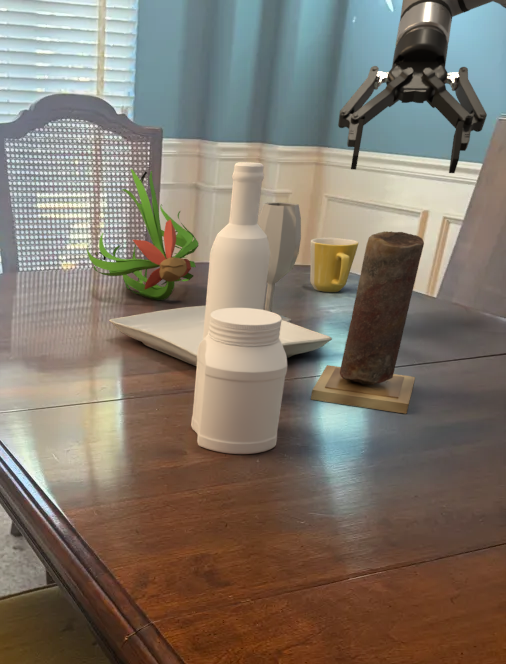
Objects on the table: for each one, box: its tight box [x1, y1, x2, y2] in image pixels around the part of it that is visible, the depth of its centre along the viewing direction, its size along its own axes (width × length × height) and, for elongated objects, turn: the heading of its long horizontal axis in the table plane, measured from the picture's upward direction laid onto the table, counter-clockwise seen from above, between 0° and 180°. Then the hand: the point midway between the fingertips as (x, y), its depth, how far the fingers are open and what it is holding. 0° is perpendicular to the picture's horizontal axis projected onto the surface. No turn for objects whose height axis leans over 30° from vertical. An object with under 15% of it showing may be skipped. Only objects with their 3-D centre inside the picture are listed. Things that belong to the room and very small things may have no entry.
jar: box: [190, 308, 288, 455], centre depth 93 cm, size 12×10×15 cm
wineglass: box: [257, 201, 302, 323], centre depth 142 cm, size 9×9×21 cm
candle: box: [340, 230, 425, 385], centre depth 107 cm, size 8×7×20 cm
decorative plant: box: [86, 168, 199, 301], centre depth 160 cm, size 26×25×30 cm
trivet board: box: [310, 364, 416, 415], centre depth 112 cm, size 13×13×2 cm
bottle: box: [203, 161, 270, 339], centre depth 103 cm, size 8×8×30 cm
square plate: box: [108, 304, 333, 367], centre depth 131 cm, size 27×27×4 cm
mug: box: [309, 237, 359, 293], centre depth 170 cm, size 14×10×10 cm
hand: (403, 164), depth 111 cm, fingers open, 13 cm apart
